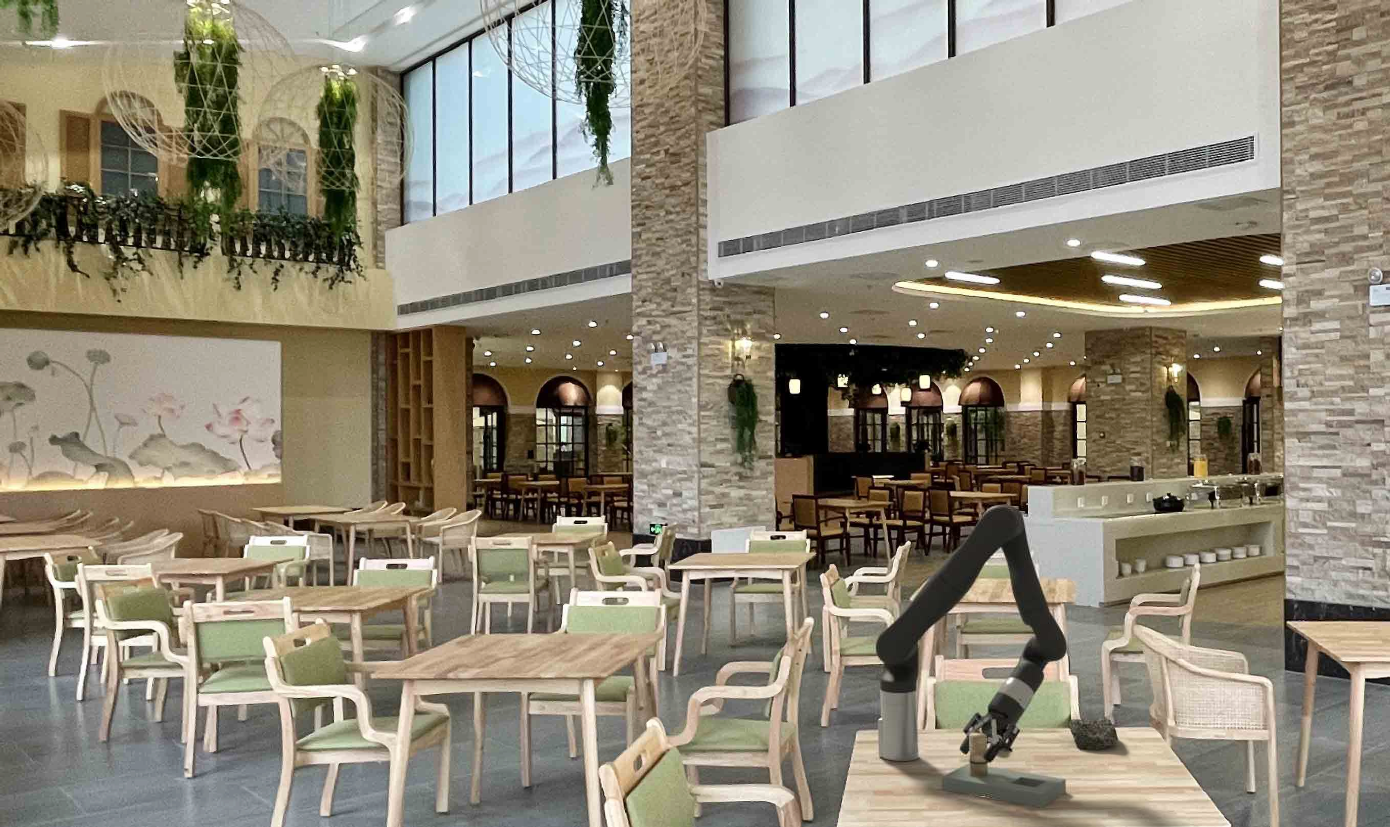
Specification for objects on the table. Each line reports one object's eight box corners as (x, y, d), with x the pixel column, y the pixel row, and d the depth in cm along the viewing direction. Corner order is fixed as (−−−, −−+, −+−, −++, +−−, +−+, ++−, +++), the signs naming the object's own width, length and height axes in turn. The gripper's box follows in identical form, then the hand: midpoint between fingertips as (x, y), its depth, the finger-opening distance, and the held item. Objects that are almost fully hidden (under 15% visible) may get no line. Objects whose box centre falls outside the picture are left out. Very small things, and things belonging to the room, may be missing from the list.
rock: (1067, 714, 323) (1068, 736, 323) (1073, 727, 308) (1074, 751, 308) (1113, 715, 321) (1113, 738, 321) (1121, 728, 305) (1122, 753, 305)
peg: (966, 774, 277) (965, 735, 277) (974, 770, 281) (973, 732, 281) (983, 777, 275) (982, 738, 275) (991, 773, 278) (990, 734, 278)
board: (942, 789, 276) (941, 776, 276) (968, 775, 287) (968, 763, 287) (1041, 807, 261) (1041, 794, 261) (1065, 792, 272) (1065, 779, 272)
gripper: (982, 686, 288) (945, 739, 282) (1022, 696, 275) (985, 753, 270) (1000, 705, 290) (964, 759, 285) (1041, 716, 277) (1004, 773, 272)
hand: (974, 756), depth 277 cm, fingers open, 8 cm apart
